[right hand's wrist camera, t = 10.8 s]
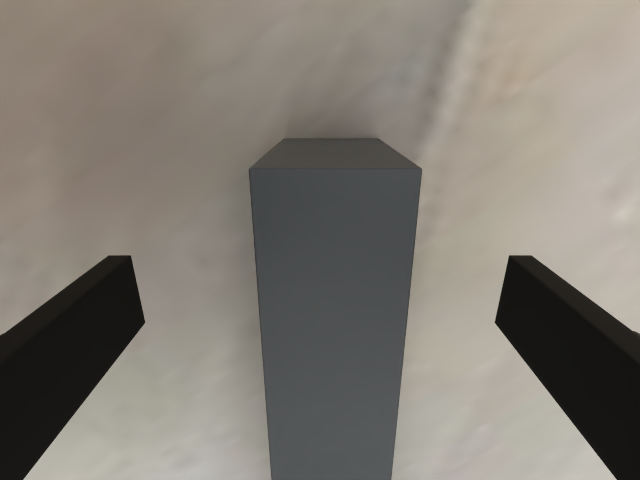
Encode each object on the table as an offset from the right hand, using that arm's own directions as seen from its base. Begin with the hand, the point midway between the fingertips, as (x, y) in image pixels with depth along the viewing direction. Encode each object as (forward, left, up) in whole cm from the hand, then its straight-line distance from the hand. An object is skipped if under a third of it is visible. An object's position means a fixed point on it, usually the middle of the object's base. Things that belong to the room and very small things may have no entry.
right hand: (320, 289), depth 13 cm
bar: (+26, -5, -6) cm, 27 cm away
